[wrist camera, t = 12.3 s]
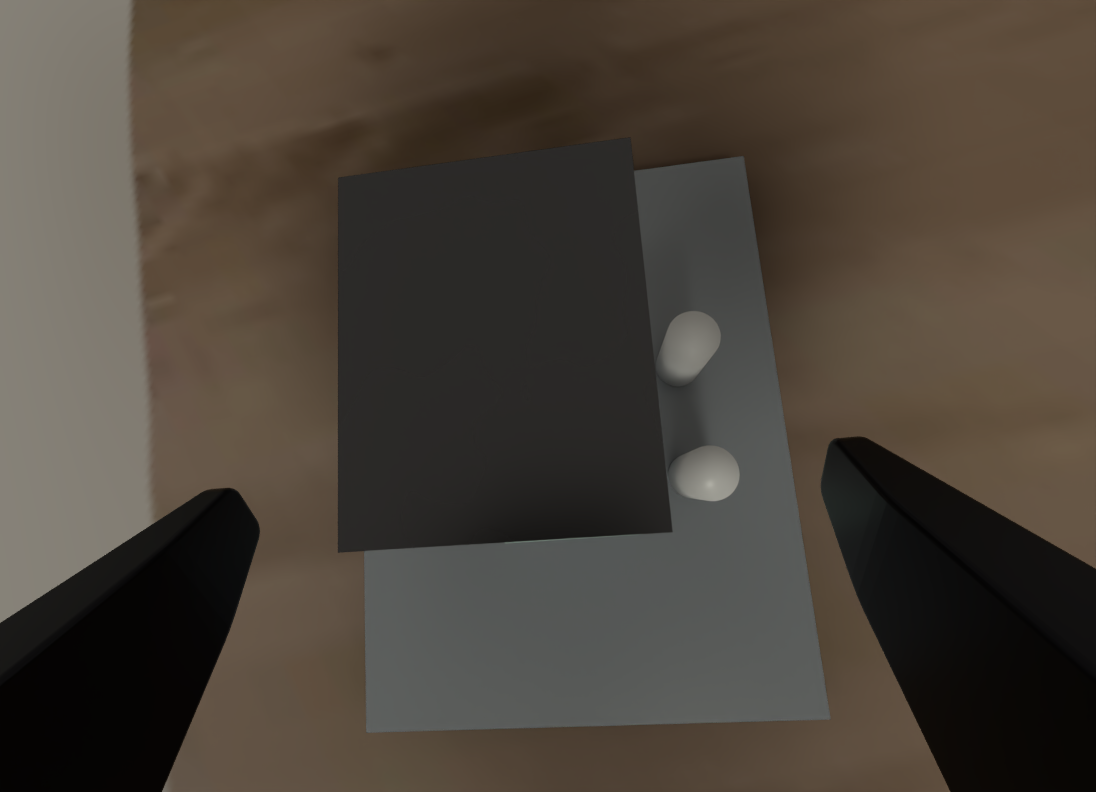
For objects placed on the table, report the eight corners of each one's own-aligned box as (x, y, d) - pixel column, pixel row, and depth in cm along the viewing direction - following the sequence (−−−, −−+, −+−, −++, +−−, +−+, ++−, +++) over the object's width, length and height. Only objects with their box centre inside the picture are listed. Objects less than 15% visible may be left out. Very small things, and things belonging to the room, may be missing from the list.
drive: (633, 502, 17) (672, 531, 6) (509, 510, 17) (337, 552, 6) (618, 350, 18) (630, 137, 7) (501, 361, 18) (338, 177, 7)
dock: (814, 702, 16) (894, 787, 12) (382, 716, 18) (302, 796, 13) (735, 176, 20) (773, 80, 15) (374, 223, 21) (307, 149, 16)
